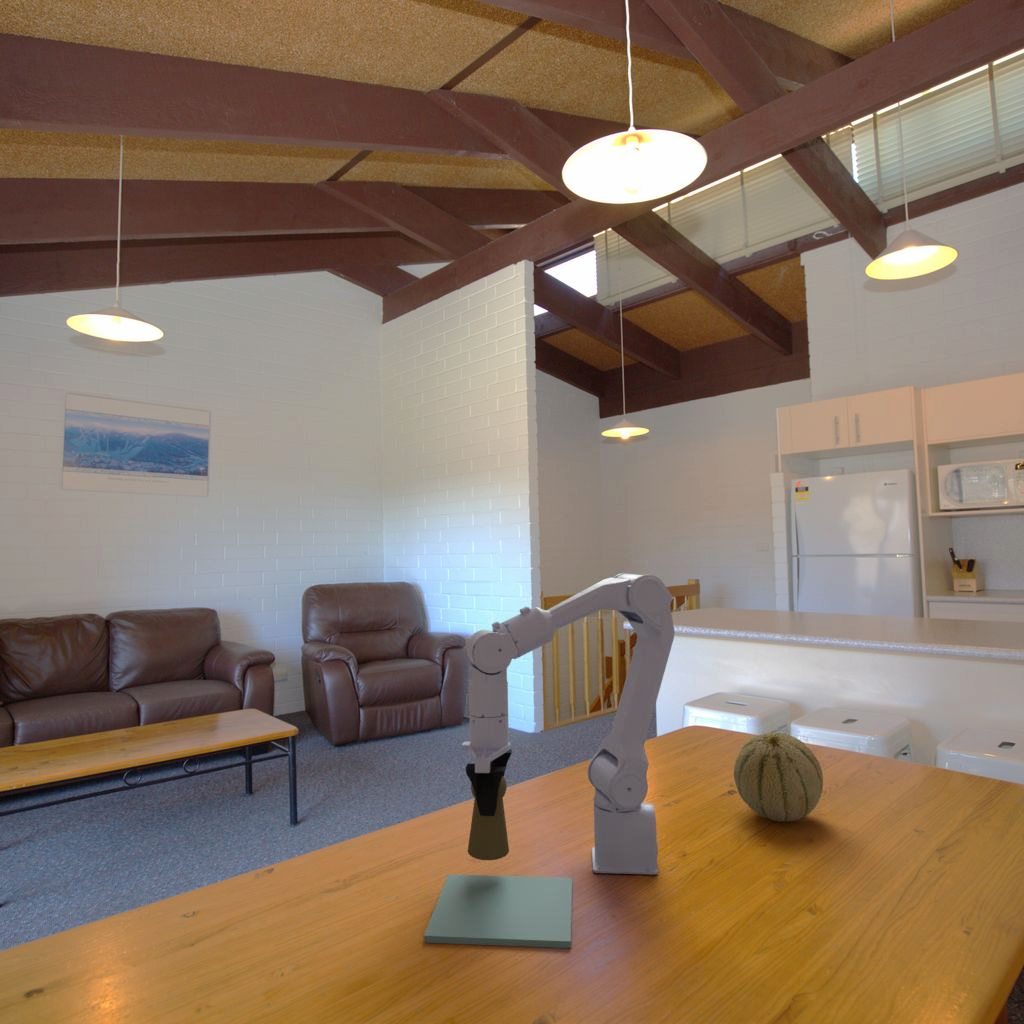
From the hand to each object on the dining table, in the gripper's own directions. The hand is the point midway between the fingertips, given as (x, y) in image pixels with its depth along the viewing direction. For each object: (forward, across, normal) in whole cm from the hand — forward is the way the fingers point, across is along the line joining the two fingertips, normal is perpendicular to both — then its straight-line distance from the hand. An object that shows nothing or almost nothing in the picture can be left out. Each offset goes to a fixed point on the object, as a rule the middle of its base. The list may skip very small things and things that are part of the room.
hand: (490, 807), depth 101 cm
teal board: (+10, +8, +3) cm, 14 cm away
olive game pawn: (+6, 0, 0) cm, 6 cm away
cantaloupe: (+11, -26, +47) cm, 55 cm away
